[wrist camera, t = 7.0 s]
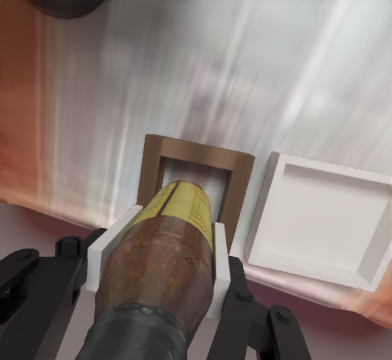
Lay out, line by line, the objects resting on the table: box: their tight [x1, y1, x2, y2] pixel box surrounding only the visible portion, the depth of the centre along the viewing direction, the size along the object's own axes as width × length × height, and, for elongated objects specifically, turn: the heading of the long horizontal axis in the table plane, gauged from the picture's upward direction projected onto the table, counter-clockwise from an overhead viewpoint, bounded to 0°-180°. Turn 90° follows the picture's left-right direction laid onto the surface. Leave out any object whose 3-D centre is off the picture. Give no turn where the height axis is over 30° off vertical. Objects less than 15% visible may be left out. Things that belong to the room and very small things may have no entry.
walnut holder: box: [136, 134, 255, 255], centre depth 28 cm, size 14×14×4 cm
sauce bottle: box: [75, 180, 214, 360], centre depth 13 cm, size 6×6×20 cm
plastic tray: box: [244, 151, 392, 292], centre depth 28 cm, size 18×16×4 cm
